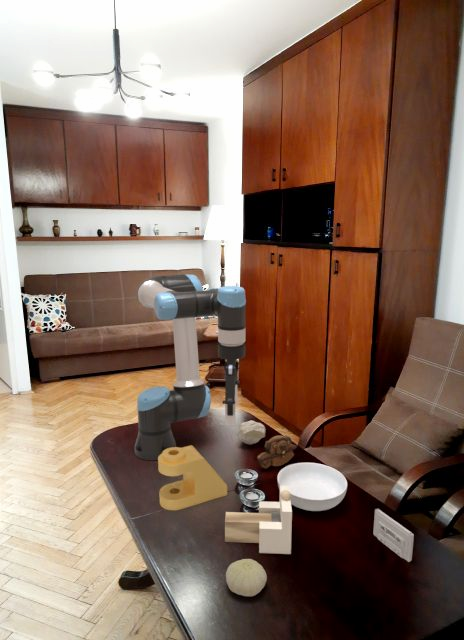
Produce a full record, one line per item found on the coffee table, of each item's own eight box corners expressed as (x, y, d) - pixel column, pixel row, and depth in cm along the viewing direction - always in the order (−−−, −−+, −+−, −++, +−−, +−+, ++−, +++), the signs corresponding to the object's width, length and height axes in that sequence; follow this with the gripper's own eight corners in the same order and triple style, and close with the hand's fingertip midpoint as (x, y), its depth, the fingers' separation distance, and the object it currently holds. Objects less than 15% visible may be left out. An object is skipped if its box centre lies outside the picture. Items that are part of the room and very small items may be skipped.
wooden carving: (265, 475, 149) (265, 447, 147) (256, 469, 153) (256, 442, 151) (299, 459, 159) (300, 433, 157) (289, 454, 163) (290, 429, 161)
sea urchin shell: (220, 562, 107) (245, 541, 106) (242, 582, 108) (267, 561, 108) (223, 593, 98) (250, 570, 97) (247, 614, 99) (274, 592, 99)
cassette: (413, 560, 111) (415, 533, 110) (407, 563, 110) (410, 536, 109) (376, 532, 122) (378, 507, 120) (371, 534, 121) (373, 509, 119)
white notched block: (258, 523, 125) (259, 478, 122) (287, 524, 125) (289, 478, 122) (259, 552, 114) (259, 503, 111) (291, 554, 113) (292, 504, 111)
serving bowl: (349, 487, 143) (350, 467, 141) (342, 528, 123) (343, 506, 122) (285, 475, 149) (285, 456, 148) (269, 512, 130) (269, 491, 129)
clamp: (165, 514, 129) (164, 463, 126) (155, 497, 137) (153, 449, 134) (227, 495, 139) (227, 447, 135) (214, 480, 147) (213, 435, 143)
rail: (226, 531, 122) (225, 510, 121) (278, 533, 121) (278, 512, 120) (224, 542, 118) (224, 520, 116) (279, 544, 117) (279, 522, 116)
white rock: (259, 436, 177) (259, 413, 175) (271, 445, 170) (272, 420, 168) (233, 444, 171) (233, 419, 169) (245, 453, 164) (245, 428, 162)
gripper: (221, 332, 136) (221, 398, 140) (213, 355, 111) (214, 434, 116) (246, 332, 135) (245, 398, 140) (244, 355, 111) (243, 435, 115)
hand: (231, 415), depth 128 cm, fingers open, 13 cm apart
